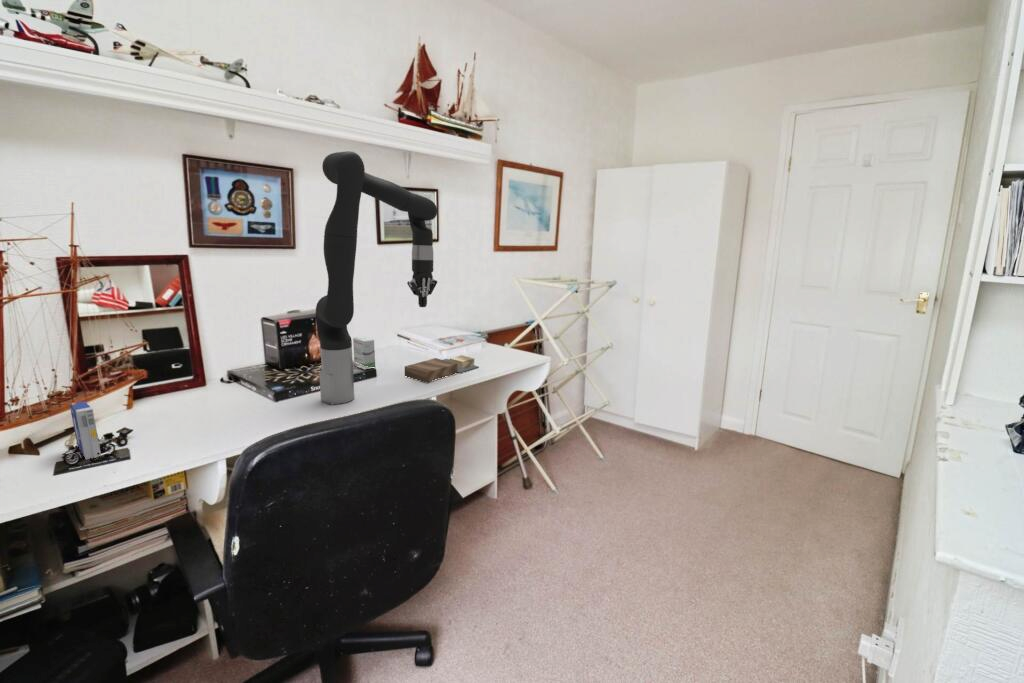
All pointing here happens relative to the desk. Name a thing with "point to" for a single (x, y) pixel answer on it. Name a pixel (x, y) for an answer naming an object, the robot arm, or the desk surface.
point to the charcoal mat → (464, 368)
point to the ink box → (364, 351)
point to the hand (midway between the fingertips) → (422, 306)
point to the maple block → (463, 361)
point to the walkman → (85, 429)
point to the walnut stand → (431, 369)
